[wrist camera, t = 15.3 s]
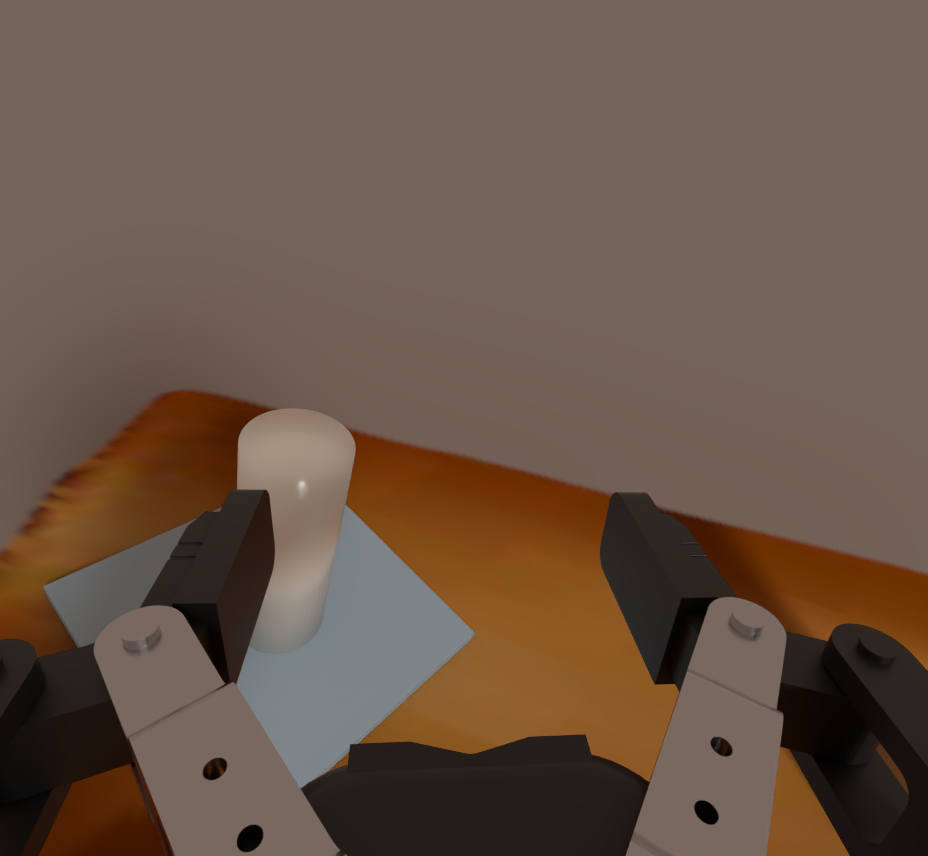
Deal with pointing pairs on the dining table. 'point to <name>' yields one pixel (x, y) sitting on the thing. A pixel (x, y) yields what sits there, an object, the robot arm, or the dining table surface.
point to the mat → (318, 661)
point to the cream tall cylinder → (297, 515)
